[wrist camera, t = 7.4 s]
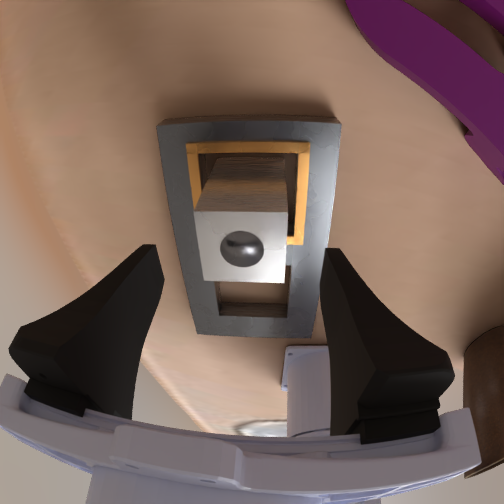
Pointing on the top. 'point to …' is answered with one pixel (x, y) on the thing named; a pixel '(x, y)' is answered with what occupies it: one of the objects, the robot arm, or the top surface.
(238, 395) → the top surface
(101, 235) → the top surface
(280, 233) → the metal block with hole
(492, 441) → the plant pot
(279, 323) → the grey holder tray
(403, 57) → the mounting bracket
